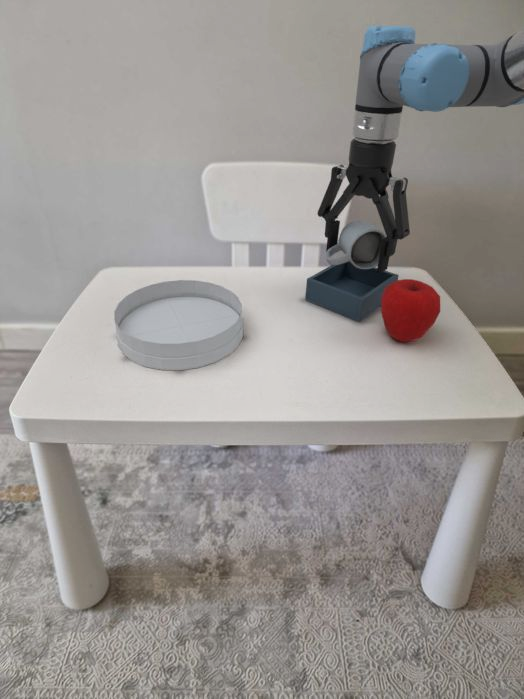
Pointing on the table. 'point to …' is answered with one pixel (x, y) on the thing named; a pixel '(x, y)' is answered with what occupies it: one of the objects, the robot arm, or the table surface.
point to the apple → (409, 309)
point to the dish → (179, 324)
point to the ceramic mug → (358, 245)
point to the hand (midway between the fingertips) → (355, 262)
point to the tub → (348, 289)
